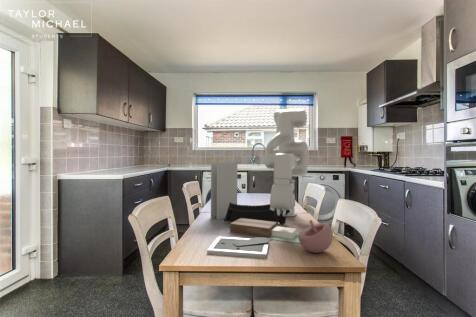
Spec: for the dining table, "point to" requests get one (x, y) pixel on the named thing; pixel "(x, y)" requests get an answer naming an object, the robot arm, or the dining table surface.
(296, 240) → the mat
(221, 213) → the tall grey block
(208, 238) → the dining table surface
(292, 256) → the dining table surface
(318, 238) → the mortar and pestle
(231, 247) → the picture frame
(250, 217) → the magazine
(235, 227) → the block
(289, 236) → the tile
